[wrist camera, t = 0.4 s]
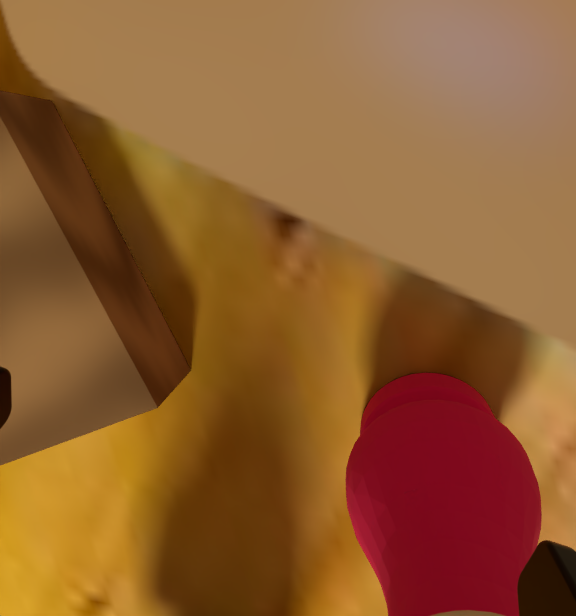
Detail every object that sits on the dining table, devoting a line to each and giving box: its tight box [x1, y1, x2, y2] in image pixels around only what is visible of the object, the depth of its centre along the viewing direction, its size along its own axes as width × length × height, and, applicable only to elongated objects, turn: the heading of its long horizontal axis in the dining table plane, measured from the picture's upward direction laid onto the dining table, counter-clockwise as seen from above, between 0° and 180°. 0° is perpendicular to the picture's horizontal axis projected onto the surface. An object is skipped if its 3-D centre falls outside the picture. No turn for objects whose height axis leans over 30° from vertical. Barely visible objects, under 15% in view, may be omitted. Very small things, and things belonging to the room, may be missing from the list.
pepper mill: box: [346, 373, 541, 616], centre depth 14 cm, size 7×7×20 cm
